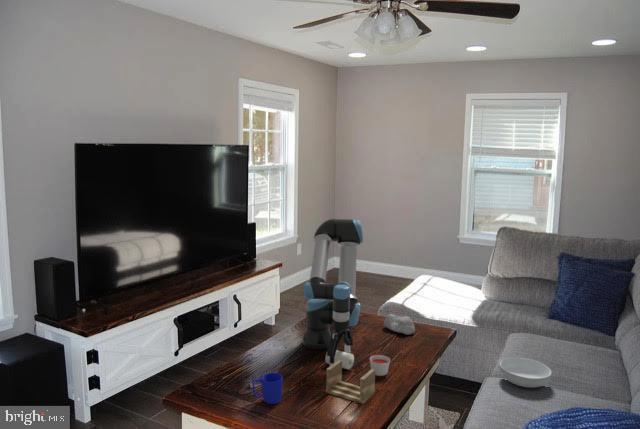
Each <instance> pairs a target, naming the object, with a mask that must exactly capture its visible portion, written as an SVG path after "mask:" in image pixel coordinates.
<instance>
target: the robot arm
mask: <svg viewBox="0 0 640 429" xmlns="http://www.w3.org/2000/svg"><path fill="white" fill-rule="evenodd" d="M333 242H337V246H338V247H339V248H340V250H339V251H340V252H339V266H338V268H339V269H338V283H332V282H331V283H330V282H329V283H327V282H326V281H327V272H328V264H329V254H330V247H331V245H332V244H333ZM313 243H314V247H313V248H314V249H313V255H312V263H311V268H310V270H311V271H310V276H309V281H307V282H304V285H303V296H304V298H306V299H308V301H307V302H306V309H305V311H306V313H305V314H306V315H305V316H306V317H305V320H306V321H305V323H306V324H305V331H304V334H303V337H302V346H304V347H305V348H307V349H310V350H311V349H312V350H324V349H327V351H328V352H327V351H326V354H327V356H330V364H329V367H330V366H331V365H333V364H334V363H336V356H335V354H336V351H337V350H338V348H339V344H340V343H342V340H343V342H344V343H345V344H344V351H343V352H346V353H350V354H351V346H353V344H354V339H353V335H352V331H351V327H355V326H357V324H358V323H359V322H358V321H359V318H360V317H359V316H360V312H361V302H359V301H358V300H359V299H358V297H357V296H356V280H357V276H356V275H357V262H358V261H357V260H358V258H357V255H358V248H360V247H361V244H362V243H364V236H363V226H362V221H361V220H359V219H353V218H352V219H351V218H350V219H348V218H347V219H344V218H343V219H342V218H340V219H339V218H330V219H327V220H325V221H324V222H322V223H321V224H320V225H319V226H318V228H316V231H315V233H314V236H313ZM330 326H332V328H333V329H334V330H335V331H334V333H332V332H331V331H330Z"/></svg>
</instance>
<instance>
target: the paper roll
mask: <svg viewBox="0 0 640 429" xmlns="http://www.w3.org/2000/svg"><path fill="white" fill-rule="evenodd" d="M327 352H328V350H327V351H326V354H325V363H326V364H327V365H330V356H327ZM335 356H336V362H337V361H338V360H340V361H342V369H345V370H351V369H352V368H353V366H354V364H355V356H354V354H353V353H351V352H350V353H346V352H344V351H342V350H338V349H337V351H336V354H335Z"/></svg>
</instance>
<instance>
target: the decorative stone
mask: <svg viewBox="0 0 640 429" xmlns="http://www.w3.org/2000/svg"><path fill="white" fill-rule="evenodd" d="M383 324H384V326H385V327H386V328H387V329H389V330H390V331H393V332H395V333H396V332H397V333H400V334H403V335H406V336H407V335H412V334H413V333H414V332H415V331H416V329H415V324H414V322H413V321H412V319H411V318H410V317H409V316H406V315H405V316H399V315H395V314H394V313H393V314H388V315H387V316H386V317H385V319H384V322H383Z"/></svg>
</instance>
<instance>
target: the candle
mask: <svg viewBox="0 0 640 429" xmlns="http://www.w3.org/2000/svg"><path fill="white" fill-rule="evenodd" d="M369 362H370V370H371V369H373V370H375V376H378V377H383V376H386V375H387V374H388V372H389V367H390V362H391V358H390V357H388V356H385V355H382V354H375V355H372V356H370V357H369Z"/></svg>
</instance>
